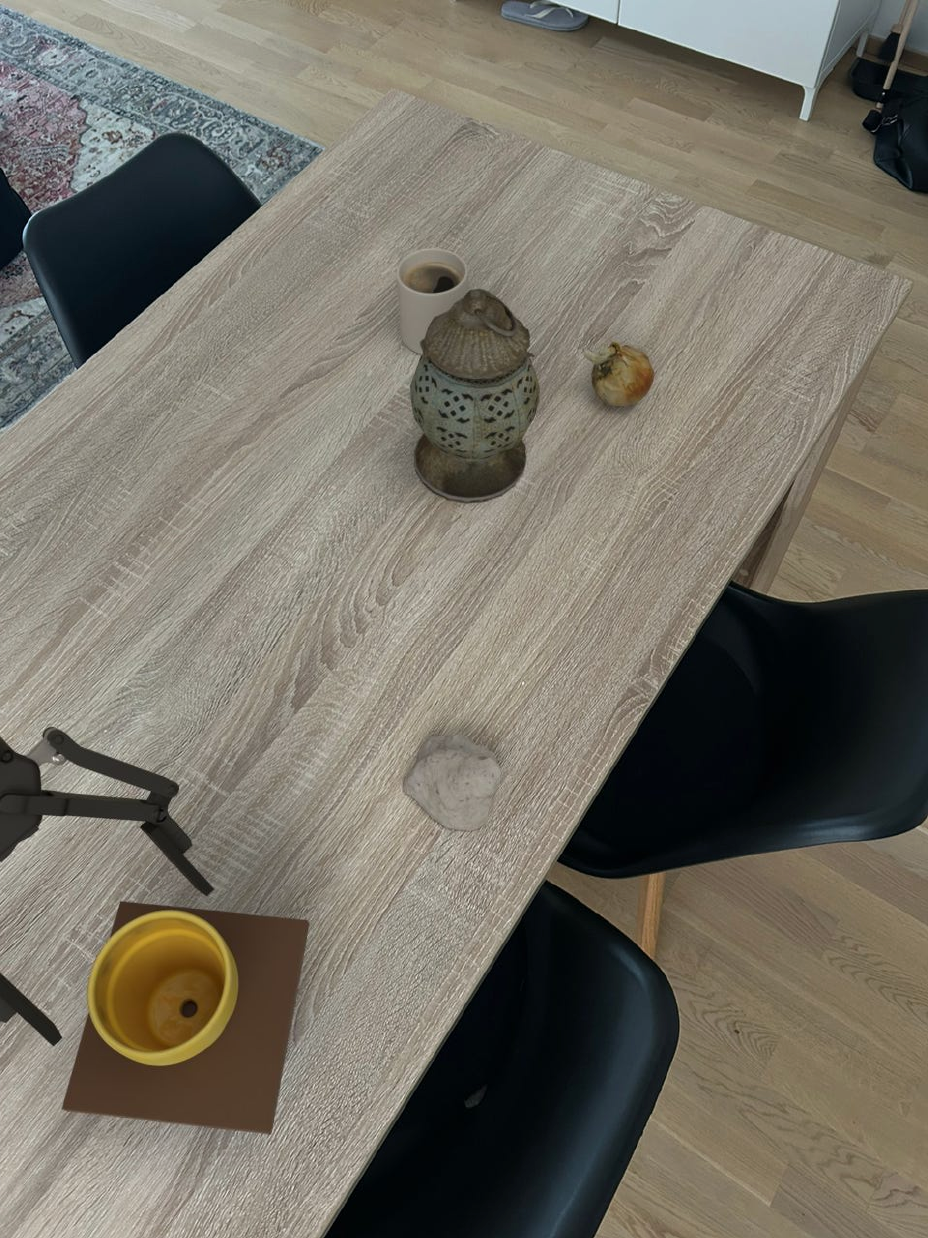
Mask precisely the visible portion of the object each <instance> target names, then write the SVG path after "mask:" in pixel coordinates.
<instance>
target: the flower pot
mask: <svg viewBox="0 0 928 1238" xmlns="http://www.w3.org/2000/svg"><path fill="white" fill-rule="evenodd" d="M87 980H88V981H87V985H86V1001H87V1002H86V1003H87V1009H88V1013H89V1014H90V1017H91V1020H92V1022H93V1024H94V1026H95V1028H96V1030H97V1032H98V1033H99V1035H100V1036H101V1037H102V1038H103V1040H104V1041H105V1042H106V1043H107V1044H108V1045H110V1046H111V1047H112V1048H113V1049H114V1050H116V1051H117V1052H119V1053H120V1054H122V1055H124V1056H125V1057H127V1058H129V1059H131V1060H134V1061H136V1062H140V1063H143V1064H147V1065H156V1066H162V1065H171V1064H175V1063H179V1062H182V1061H185V1060H187V1059H189V1058H191V1057H193V1056H195V1055H197V1054H198V1053H200V1052H201V1051H203V1050H204V1049H205V1048H207V1047H209V1046H210V1045H211V1044H212V1043H214V1042H215V1041H216V1040H217V1039H218V1037H219V1036H220V1035H221V1033H222V1032H223V1030H224V1029H225V1026H226V1025H227V1023H228V1021H229V1019H230V1017H231V1015H232V1012H233V1010H234V1007H235V1004H236V1000H237V994H238V973H237V967H236V964H235V961H234V958H233V956H232V953H231V951H230V949H229V947H228V946H227V944H226V942H225V941H224V939H223V938H222V937H221V935H220V934H219V933H218V932H217V930H216V929H215V928H214V927H213V926H212V925H210V924H209V923H208V922H207V921H205V920H204V919H202V918H200V917H198V916H196V915H194V914H191V913H188V912H184V911H178V910H162V911H156V912H152V913H148V914H145V915H142V916H140V917H138V918H135V919H134V920H132V921H130V922H128V923H127V924H125V925H124V926H123V927H121V928H120V929H119V930H118V931H117V932H115V933H114V934H113V935H112V936H111V937H110V936H109V938H108V940H107V941H106V942H105V943H104V944H103V946H102V948H101V949H100V950H99V952H98V954H97V955H96V957H95V959H94V961H93V964H92V966H91V969H90V972H89V976H88V979H87ZM189 1001H192V1002H194V1003H196V1005H197V1008H198V1010H197V1012H196V1014H195V1015H194V1016H192V1017H189V1018H186V1017H185V1016H184V1015H183V1013H182V1008H183V1006H184V1004H185V1003H187V1002H189Z"/></svg>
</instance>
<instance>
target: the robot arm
mask: <svg viewBox="0 0 928 1238" xmlns="http://www.w3.org/2000/svg"><path fill="white" fill-rule="evenodd" d="M41 737H42V738H41V739H40V740H39V741H38V742H37V744H36V745H35V746H33V748H32V749H30V751H29V752H28V753H26V755H24V754H21V753H18V752H16V750H14V749H13V748H12V747H11V745H9V744H8V743H7V742H6V740H5V739H4V738H3V737H2V736H1V735H0V863H2V862H4V860H6V859H7V858H9V856H11V854H12V853H13V851H15V848H16V847H17V846H18V845H19V844H20V843H22V842H24V841H26V840H27V839H29V838H32V836H33V835H35V833H36V832H38V831H39V830H40V828H39V827H40V825H41V823H42V821H43V817H44V816H47V817H48V816H50V817H76V818H77V817H80V818H91V819H92V818H93V819H103V820H104V819H106V820H118V821H131V822H132V821H133V822H143V823H142V824H141V825H140V826H139V828H140V829H141V831H142V832H143V833H144V834H145V836H147V837H148V838H149V839H150V840H151V842H152V843H153V844H154V845H155V846H156V847H157V848H158V849H159V850H160V851H161V853H162V854H163V855H164V856H165V857H166V858H167V859H168V860H169V861H170V863H172V865H174V867H175V868H176V869H177V870H178V871H179V872H180V874H182V876H183V877H184V878H185V879H186V880H187V881H188V882H189V883H190V884H191V886H193V888H194V889H196V890H197V891H198V892H199V893H201V894H202V895H203V896H204V897H206V898H207V897H208V896H209V895H210V894H211V893H212V892H213V891H214V890H215V888H214V887H213V886H212V885H211V883H210V882H209V881H208V880H207V879H206V878H205V877H204V876H203V874H202V873H201V872H200V871H199V869H197V868H196V867H195V866H194V865H193V863H191V861H189V859H188V858H187V857H186V856H185V854H186V853H187V852H188V851H189V850H190V849H191V848H193V846H194V845H193V842H192V839H191V837H190V836H189V835H188V834H187V833H186V832H185V831H184V830H183V828H182V827H181V826H180V825H179V824H178V823H177V822H176V821H175V819H173V818H172V816H171V814H170V813H169V806H170V804H171V802H172V800H173V798H175V797H177V795H178V794H179V792H180V786H179V784H178V783H177V782H176V781H175V780H172V779H170V778H168V777H166V776H164V775H161V774H158V773H156V772H154V771H151V770H147V769H144V768H142V767H139V766H137V765H134V764H132V763H128V762H125V761H123V760H120V759H117V758H116V757H115V758H114V757H112V756H109V755H107V754H104V753H100V752H97V751H96V750H92V749H90V748H87V747H84V746H82V745H80V744H79V743H77V742H76V741H75V740H74V739H72V738H71V736H70V735H68V733H66V732H64V731H63V730H61V729H60V728H57V727H56V726H49V727H46V728H45V729H44V730H43V732H42V734H41ZM67 761H68V762H70V763H72V764H74V765H76V766H78V767H81V768H83V769H85V770H88V771H91V772H94V773H97V774H98V775H102V776H105V777H108V778H110V779H114V780H117V781H119V782H122V783H125V784H129V785H131V786H133V787H136V788H139V789H142V790H145V791H148V792H149V794H148V795H147V797H146V799H144V798H133V797H120V796H108V795H98V794H88V793H87V794H85V793H75V792H65V791H64V792H63V791H59V790H52V789H51V790H50V789H42V776H41V775H42V774H41V766H42V765H44V764H51V765H54V766H62V765H64V764H65V763H66V762H67ZM16 1014H18V1015H19V1016H20V1017H21V1018H22V1019H23V1020H24V1021H26V1022H27V1023H28V1025H30V1027H32V1028H33V1029H34V1030H35V1031H36V1032H37V1033H38V1034H39V1035H40V1036H41V1037H43V1039H44V1040H46V1041H47V1042H48V1043H49V1044H50V1045H51V1046H52V1048H53V1047H55V1046H56V1045H57V1044H58V1043H59V1042H60V1041H61V1040H63V1036H62V1034H61V1033H60V1030H59V1029H58V1028H57V1027H58V1026H57V1025H56V1023H54V1021H52V1020H51V1019H50V1018H49V1017H48V1016H47V1015H46V1014H45V1013H44V1012H43V1011H42V1010H41V1009H40V1008H39V1007H37V1005H36V1004H34V1003H33V1002H32V1001H31V1000H30V999H29V998H28V997H27V996H26V995H25V994H24V993H23V992H22V991H21V990H20V989H18V988H17V986H16V985H14V984H13V983H12V982H11V981H10V980H9V979H8V978H7V977H6V976H5V975H4V974H3V973H2V972H0V1022H1V1023H4V1024H7V1023H8V1022H9V1021H10V1020H11V1019H12V1018H13V1017H14V1016H15V1015H16Z"/></svg>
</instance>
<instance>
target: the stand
mask: <svg viewBox="0 0 928 1238" xmlns="http://www.w3.org/2000/svg"><path fill="white" fill-rule="evenodd" d="M162 910H178V911H184V912H188V913H191V914H194V915H196V916H198V917H200V918H202V919H204V920H205V921H207V922H208V923H209V924H210V925H212V926H213V927H214V928H215V929H216V930H217V932H218V933H219V934H220V935H221V937H222V938H223V939H224V941H225V942H226V944H227V946H228V947H229V949H230V951H231V953H232V956H233V958H234V961H235V964H236V967H237V973H238V994H237V1000H236V1004H235V1007H234V1010H233V1012H232V1015H231V1017H230V1019H229V1021H228V1023H227V1025H226V1026H225V1029H224V1030H223V1032H222V1033H221V1035H220V1036H219V1037H218V1039H217V1040H216V1041H215V1042H214V1043H212V1044H211V1045H210V1046H209V1047H207V1048H205V1049H204V1050H203V1051H201V1052H200V1053H198V1054H197V1055H195V1056H193V1057H191V1058H189V1059H187V1060H185V1061H182V1062H179V1063H175V1064H171V1065H162V1066H156V1065H147V1064H143V1063H140V1062H136V1061H134V1060H131V1059H129V1058H127V1057H125V1056H124V1055H122V1054H120V1053H119V1052H117V1051H116V1050H114V1049H113V1048H112V1047H111V1046H110V1045H108V1044H107V1043H106V1042H105V1041H104V1040H103V1038H102V1037H101V1036H100V1035H99V1033H98V1032H97V1030H96V1028H95V1026H94V1024H93V1022H92V1020H91V1017H90V1014H89V1012H88V1014H87V1017H86V1021H85V1025H84V1028H83V1032H82V1035H81V1039H80V1042H79V1046H78V1050H77V1053H76V1056H75V1060H74V1063H73V1066H72V1071H71V1074H70V1078H69V1082H68V1085H67V1088H66V1092H65V1096H64V1099H63V1103H62V1106H61V1110H62V1111H65V1112H70V1113H79V1114H87V1115H96V1116H97V1115H98V1116H105V1117H113V1118H121V1119H131V1120H141V1121H147V1122H157V1123H165V1124H175V1125H183V1126H191V1127H192V1126H193V1127H201V1128H208V1129H209V1128H210V1129H217V1130H218V1129H219V1130H227V1131H236V1132H244V1133H252V1134H261V1135H270V1136H271V1135H272V1134H273V1129H274V1124H275V1123H274V1122H275V1118H276V1112H277V1107H278V1101H279V1095H280V1089H281V1084H282V1079H283V1074H284V1073H283V1072H284V1068H285V1062H286V1056H287V1051H288V1046H289V1040H290V1034H291V1029H292V1025H293V1017H294V1012H295V1007H296V1001H297V995H298V991H299V990H298V989H299V986H300V978H301V974H302V970H303V969H302V968H303V963H304V957H305V951H306V947H307V940H308V935H309V930H310V922H309V920H308V919H301V918H293V917H292V918H291V917H289V918H288V917H281V916H271V915H263V914H251V913H242V912H232V911H231V912H230V911H221V910H211V909H202V908H192V907H183V906H182V907H180V906H173V905H163V904H152V903H142V902H133V901H124V900H123V901H121V900H120V901H119V903H118V907H117V910H116V914H115V916H114V917H115V918H114V921H113V925H112V929H111V932H110V935H109V938H110V937H111V936H112V935H113V934H114V933H115V932H117V931H118V930H119V929H120V928H121V927H123V926H124V925H125V924H127V923H128V922H130V921H132V920H134V919H135V918H138V917H140V916H142V915H145V914H148V913H152V912H156V911H162ZM197 1010H198V1008H197V1005H196V1003H194V1002H192V1001H189V1002H187V1003H185V1004H184V1006H183V1008H182V1013H183V1015H184V1016H185V1017H186V1018H189V1017H192V1016H194V1015H195V1014H196V1012H197Z"/></svg>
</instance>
